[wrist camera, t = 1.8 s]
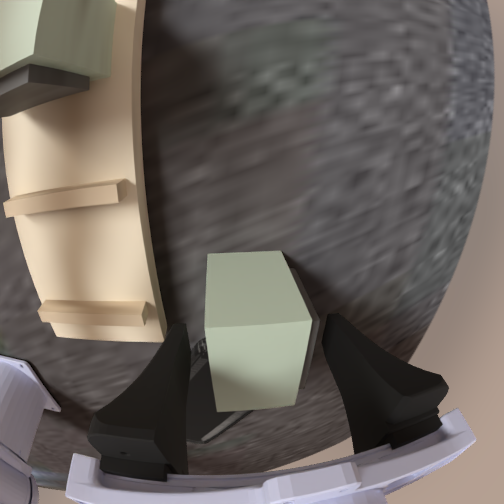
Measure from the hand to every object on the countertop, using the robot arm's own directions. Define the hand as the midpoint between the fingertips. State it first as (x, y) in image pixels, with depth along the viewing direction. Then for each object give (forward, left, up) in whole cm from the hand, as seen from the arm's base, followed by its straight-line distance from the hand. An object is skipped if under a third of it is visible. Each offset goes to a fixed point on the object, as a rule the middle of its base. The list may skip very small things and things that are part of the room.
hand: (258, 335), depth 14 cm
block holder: (-9, +8, -3) cm, 13 cm away
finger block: (0, 0, -3) cm, 3 cm away
